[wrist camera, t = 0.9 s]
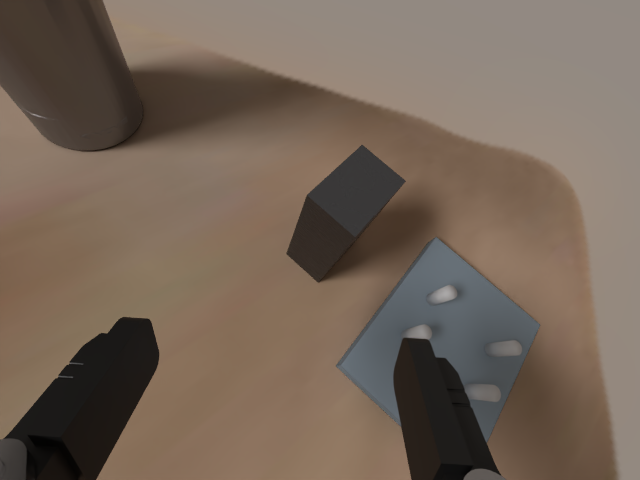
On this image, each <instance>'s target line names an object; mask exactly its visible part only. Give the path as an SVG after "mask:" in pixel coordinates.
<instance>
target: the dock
mask: <svg viewBox="0 0 640 480" xmlns="http://www.w3.org/2000/svg"><path fill="white" fill-rule="evenodd" d="M539 327H540V324H539V323H538V322H536V321H535V320H534V319H533V318H532V317H530V316H529V315H528V314H527V313H526V312H525V311H523V310H522V309H521V308H520V307H519V306H517V305H516V304H515V303H514V302H513V301H511V300H510V299H509V298H508V297H507V296H506V295H504V294H503V293H502V292H501V291H500V290H498V289H497V288H496V287H495V286H494V285H493V284H491V283H490V282H489V281H488V280H487V279H485V278H484V277H483V276H482V275H481V274H479V273H478V272H477V271H476V270H475V269H474V268H472V267H471V266H470V265H469V264H468V263H466V262H465V261H464V260H463V259H462V258H461V257H459V256H458V255H457V254H456V253H455V252H453V251H452V250H451V249H450V248H449V247H447V246H446V245H445V244H444V243H443V242H442V241H440V240H439V239H438V238H437V237H435V238H434V239H433V240H431V241H430V242H428V244H427V245H426V246H425V248H424V249H423V250H422V252H421V253H420V254H419V256H418V257H417V258H416V260H415V261H414V262H413V264H412V265H411V266H410V268H409V269H408V270H407V272H406V273H405V274H404V276H403V277H402V278H401V280H400V281H399V282H398V284H397V285H396V286H395V288H394V289H393V290H392V292H391V293H390V294H389V296H388V297H387V298H386V300H385V301H384V302H383V304H382V305H381V306H380V308H379V309H378V310H377V312H376V313H375V314H374V316H373V317H372V318H371V320H370V321H369V322H368V324H367V325H366V326H365V328H364V329H363V330H362V332H361V333H360V334H359V336H358V337H357V338H356V340H355V341H354V342H353V344H352V345H351V346H350V348H349V349H348V350H347V352H346V353H345V354H344V356H343V357H342V358H341V360H340V361H339V362H338V364H337V365H336V367H337V368H339V369H340V370H341V371H342V372H343V373H344V374H345V375H346V376H347V377H348V378H349V379H350V380H351V381H352V382H354V383H355V384H356V385H357V386H358V387H359V388H360V389H361V390H362V391H363V392H364V393H365V394H366V395H368V396H369V397H370V398H371V399H372V400H373V401H374V402H375V403H376V404H377V405H378V406H379V407H380V408H381V409H383V410H384V411H385V412H386V413H387V414H388V415H389V416H390V417H391V418H392V419H393V420H394V421H395V422H396V423H398V424H399V425H400V426H401V422H400V417H399V412H398V407H397V402H396V396H395V391H394V384H393V373H394V367H395V363H396V360H397V356H398V353H399V349H400V346H401V342H402V339H403V338H404V337H405V338H419V339H428V340H429V341H430V343H431V345H432V348H433V351H434V354H435V357H440V358H446V359H447V360H448V361H449V363H450V364H451V365H452V366H453V367H454V369H455V370H456V371H457V372H458V374H459V376H460V379H461V381H462V384H463V386H464V389H465V393H466V394H467V396H468V399H469V401H470V406H471V408H472V409H473V411H474V414H475V416H476V418H477V421H478V423H479V426H480V428H481V431H482V433H483V436H484V438H485V441H486V443H487V441H488V439H489V437H490V435H491V433H492V430H493V428H494V426H495V424H496V422H497V419H498V417H499V415H500V413H501V411H502V408H503V406H504V404H505V402H506V399H507V397H508V395H509V393H510V391H511V388H512V386H513V384H514V382H515V380H516V377H517V375H518V373H519V371H520V369H521V366H522V364H523V362H524V360H525V358H526V355H527V353H528V351H529V349H530V347H531V344H532V342H533V340H534V338H535V335H536V333H537V331H538V329H539Z"/></svg>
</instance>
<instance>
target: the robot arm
mask: <svg viewBox="0 0 640 480" xmlns="http://www.w3.org/2000/svg"><path fill="white" fill-rule="evenodd" d="M0 85H1V87H2V88H3V89H4V90H5V91H6V92H7V94H8V95H9V96H10V97H11V99H12V100H13V101H14V102H15V103H16V105H17V106H18V107H19V108H20V109H21V111H22V112H23V113H24V114H25V115H26V116H27V118H28V119H29V120H30V121H31V122H32V123H33V125H34V126H35V127H36V128H37V129H38V131H39V132H40V133H41V134H42V135H43V136H44V137H46V138H47V139H48V140H49V141H51V142H53V143H55V144H57V145H59V146H62V147H65V148H68V149H74V150H98V149H104V148H108V147H111V146H114V145H116V144H118V143H120V142H122V141H124V140H126V139H127V138H128V137H129V136H131V135H132V134H133V133H134V132H135V131H136V129H137V128H138V127H139V125H140V122H141V120H142V115H143V108H142V103H141V101H140V98H139V95H138V93H137V90H136V87H135V85H134V82H133V79H132V77H131V74H130V71H129V68H128V66H127V63H126V60H125V58H124V55H123V53H122V50H121V47H120V45H119V42H118V39H117V37H116V34H115V32H114V29H113V26H112V24H111V21H110V18H109V16H108V13H107V11H106V8H105V6H104V3H103V0H0ZM158 361H159V349H158V346H157V342H156V338H155V334H154V330H153V327H152V323H151V321H150V320H149V319H145V318H131V317H122V318H120V319H119V320H118V321H117V322H116V323H115V325H114V326H113V327H112V328H111V330H110V331H109V332H108V334H106V333H101V334H99V335H98V336H96V337H95V338H94V339H92V340H91V341H89V342H88V343H86V344H85V345H84V346H83V347H82V348H81V349H80V350H79V351H78V352H77V354H76V355H75V356H74V357H73V358H72V360H71V361H70V364H69V365H67V366H66V367H65V368H64V369H63V370H62V371H61V373H60V374H59V377H58V378H56V379H55V380H54V381H53V382H52V383H51V384H50V386H49V387H48V388H47V389H46V390H45V392H44V393H43V394H42V395H41V396H40V398H39V399H38V400H37V401H36V402H35V403H34V405H33V406H32V407H31V408H30V409H29V411H28V412H27V413H26V414H25V415H24V417H23V418H22V419H21V420H20V421H19V422H18V424H17V425H16V426H15V427H14V428H13V430H12V431H11V432H10V433H9V434H8V435H7V436H6V437H5V438H4V439H2V440H0V480H96V479H97V477H98V475H99V473H100V471H101V470H102V468H103V466H104V464H105V462H106V460H107V459H108V457H109V455H110V453H111V451H112V450H113V448H114V446H115V444H116V442H117V440H118V439H119V437H120V435H121V433H122V431H123V429H124V428H125V426H126V424H127V422H128V420H129V418H130V417H131V415H132V413H133V411H134V409H135V408H136V406H137V404H138V402H139V400H140V398H141V397H142V395H143V393H144V391H145V389H146V387H147V386H148V384H149V382H150V380H151V378H152V376H153V375H154V373H155V371H156V368H157V365H158ZM393 384H394V391H395V396H396V402H397V407H398V412H399V417H400V422H401V427H402V433H403V438H404V443H405V448H406V453H407V458H408V464H409V469H410V474H411V479H412V480H506V479H505V478H503V477H502V476H501V474H500V473H499V471H498V469H497V467H496V465H495V463H494V461H493V458H492V456H491V453H490V451H489V448H488V446H487V443H486V441H485V438H484V436H483V433H482V431H481V428H480V426H479V423H478V421H477V418H476V416H475V414H474V411H473V409H472V408H471V406H470V401H469V399H468V396H467V394H466V393H465V389H464V386H463V384H462V381H461V379H460V376H459V374H458V372H457V371H456V370H455V369H454V367H453V366H452V365H451V364H450V363H449V361H448V360H447V359H446V358H440V357H435V354H434V351H433V348H432V345H431V343H430V341H429V340H428V339H419V338H405V337H404V338H403V339H402V342H401V346H400V349H399V353H398V356H397V360H396V363H395V367H394V373H393Z"/></svg>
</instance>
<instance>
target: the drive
mask: <svg viewBox="0 0 640 480" xmlns="http://www.w3.org/2000/svg"><path fill="white" fill-rule="evenodd" d="M405 182H406V181H405V180H404V179H403V178H401V177H400V176H399V175H398V174H397V173H395V172H394V171H393V170H392V169H391V168H389V167H388V166H387V165H386V164H385V163H383V162H382V161H381V160H380V159H379V158H377V157H376V156H375V155H374V154H373V153H371V152H370V151H369V150H368V149H367V148H365V147H364V146H363V145H361V146H360V147H359V148H358V149H357V150H356V151H355V152H354V153H353V154H352V155H350V156H349V157H348V158H347V159H346V160H345V161H344V162H343V163H342V164H341V165H339V166H338V167H337V168H336V169H335V170H334V171H333V172H332V173H331V174H330V175H329V176H327V177H326V178H325V179H324V180H323V181H322V182H321V183H320V184H319V185H318V186H316V187H315V188H314V189H313V190H312V191H311V192H310V193H309V194H308V195H307V197H306V199H305V202H304V205H303V208H302V211H301V214H300V217H299V219H298V222H297V225H296V228H295V231H294V234H293V237H292V239H291V242H290V245H289V248H288V251H287V255H288V256H289V257H290V258H291V259H293V260H294V261H295V262H296V263H297V264H298V265H299V266H300V267H301V268H303V269H304V270H305V271H306V272H307V273H308V274H309V275H310V276H311V277H313V278H314V279H315V280H316V281H317V282H319V281H320V280H321V279H322V278H323V277H324V276H325V274H326V273H327V272H328V271H329V270H330V269H331V268H332V267H333V266H334V264H335V263H336V262H337V261H338V260H339V259H340V258H341V257H342V256H343V254H344V253H345V252H346V251H347V250H348V249H349V248H350V247H351V246H352V244H353V243H354V242H355V241H356V240H357V239H358V238H359V236H360V235H361V234H362V233H363V232H364V230H365V229H366V228H367V227H368V226H369V224H370V223H371V222H372V221H373V220H374V218H375V217H376V216H377V215H378V214H379V213H380V211H381V210H382V209H383V208H384V207H385V205H386V204H387V203H388V202H389V201H390V199H391V198H392V197H393V196H394V195H395V193H396V192H397V191H398V190H399V189H400V187H401V186H402V185H403V184H404V183H405Z"/></svg>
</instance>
